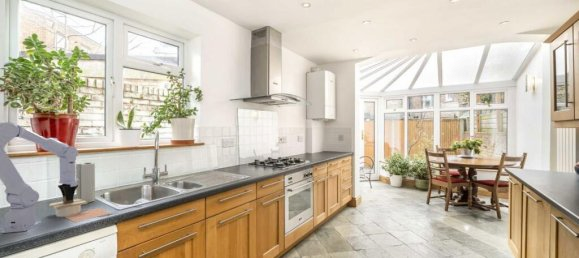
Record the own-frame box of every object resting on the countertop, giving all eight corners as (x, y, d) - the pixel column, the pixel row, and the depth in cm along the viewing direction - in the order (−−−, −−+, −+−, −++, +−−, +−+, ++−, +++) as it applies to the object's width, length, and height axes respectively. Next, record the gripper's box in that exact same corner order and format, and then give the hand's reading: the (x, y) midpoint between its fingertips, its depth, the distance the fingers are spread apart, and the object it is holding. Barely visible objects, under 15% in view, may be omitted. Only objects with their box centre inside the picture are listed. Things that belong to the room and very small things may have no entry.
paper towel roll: (98, 200, 145) (97, 162, 145) (88, 203, 139) (88, 164, 139) (86, 199, 146) (85, 162, 145) (76, 203, 140) (75, 163, 139)
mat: (111, 213, 122) (111, 213, 122) (75, 223, 110) (75, 222, 110) (98, 208, 130) (98, 208, 130) (63, 217, 118) (63, 216, 118)
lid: (87, 203, 124) (86, 194, 124) (57, 209, 115) (57, 200, 115) (77, 199, 130) (77, 191, 130) (49, 205, 121) (49, 196, 120)
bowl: (74, 216, 119) (74, 206, 119) (51, 218, 117) (50, 208, 117) (84, 210, 128) (84, 201, 128) (62, 211, 125) (62, 202, 125)
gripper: (84, 171, 121) (84, 199, 122) (72, 168, 129) (72, 195, 129) (65, 173, 116) (65, 203, 116) (53, 170, 123) (54, 198, 123)
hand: (68, 199), depth 122 cm, fingers closed on lid, 3 cm apart
